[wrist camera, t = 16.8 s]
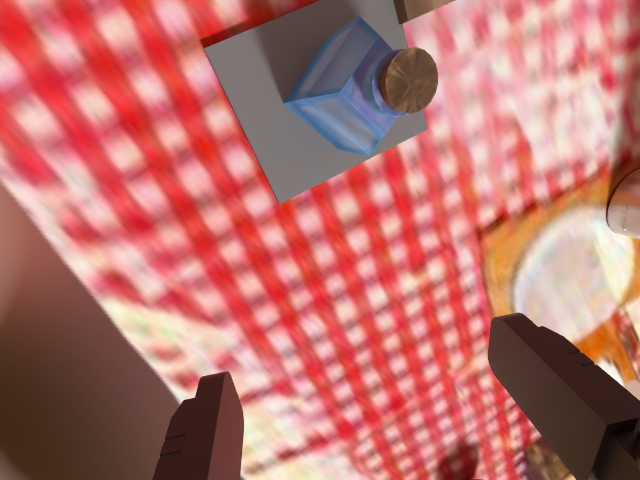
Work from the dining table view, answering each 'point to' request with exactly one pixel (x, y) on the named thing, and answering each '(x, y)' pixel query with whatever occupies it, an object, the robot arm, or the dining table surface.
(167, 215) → the dining table surface
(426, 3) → the block
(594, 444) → the robot arm
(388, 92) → the perfume bottle
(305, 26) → the rubber mat
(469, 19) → the dining table surface
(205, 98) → the dining table surface
